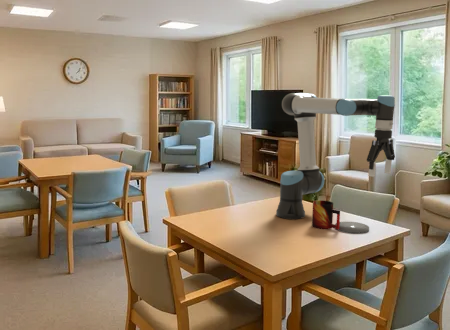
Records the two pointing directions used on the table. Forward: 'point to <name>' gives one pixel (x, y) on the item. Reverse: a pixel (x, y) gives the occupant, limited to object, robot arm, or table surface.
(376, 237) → the table surface
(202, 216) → the table surface
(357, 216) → the table surface
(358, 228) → the plate
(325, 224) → the mug
